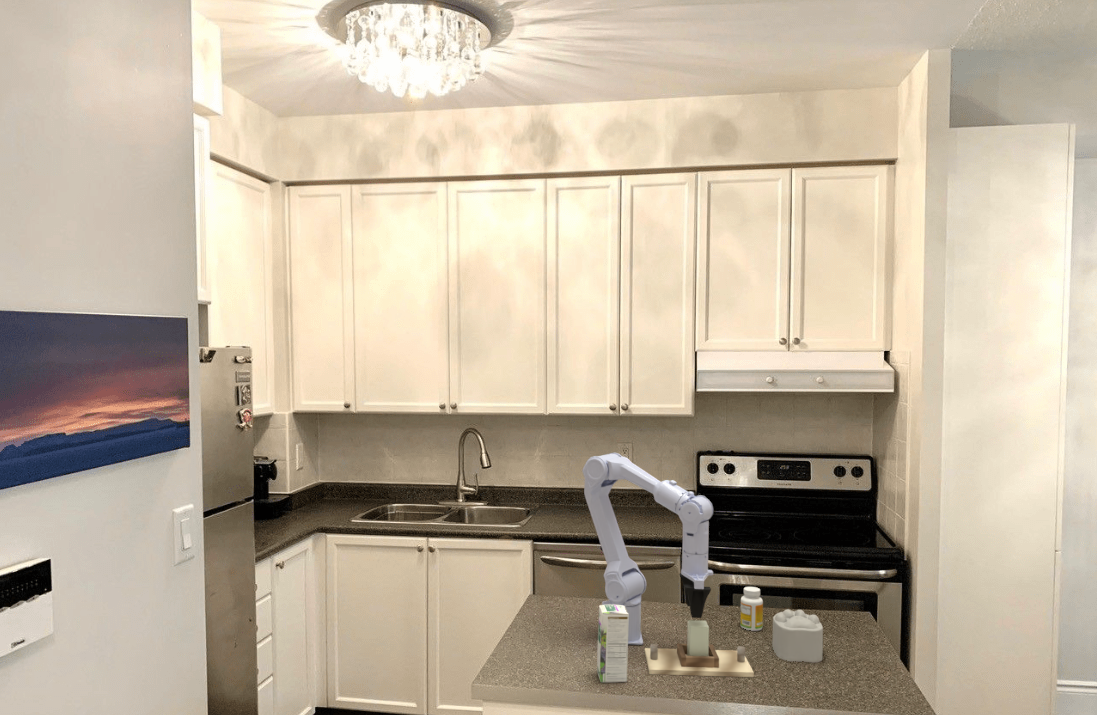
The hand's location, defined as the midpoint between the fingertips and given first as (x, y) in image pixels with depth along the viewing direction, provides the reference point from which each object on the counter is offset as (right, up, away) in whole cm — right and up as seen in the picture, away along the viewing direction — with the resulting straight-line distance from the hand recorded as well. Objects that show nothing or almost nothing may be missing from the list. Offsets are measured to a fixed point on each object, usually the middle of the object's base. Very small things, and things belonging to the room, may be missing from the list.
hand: (694, 611), depth 177 cm
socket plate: (0, -10, -4) cm, 11 cm away
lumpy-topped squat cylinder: (+24, -11, +5) cm, 27 cm away
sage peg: (0, -9, -4) cm, 10 cm away
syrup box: (-19, -10, -11) cm, 25 cm away
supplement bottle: (+18, -11, +19) cm, 29 cm away
